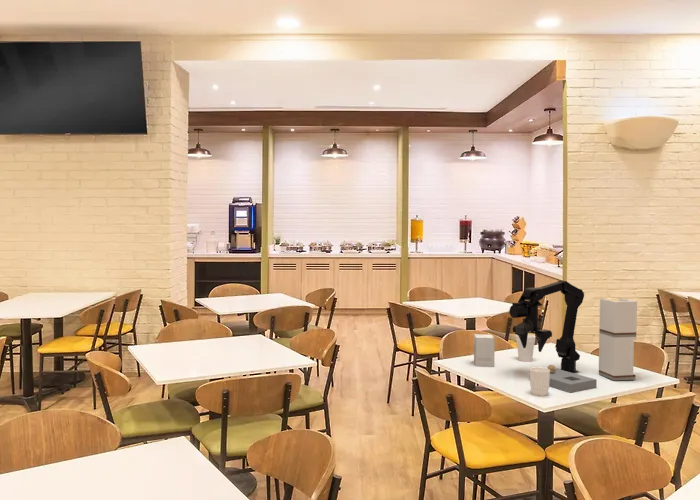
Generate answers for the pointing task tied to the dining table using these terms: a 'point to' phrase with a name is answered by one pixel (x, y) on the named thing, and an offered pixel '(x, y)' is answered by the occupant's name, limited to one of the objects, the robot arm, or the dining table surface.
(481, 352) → the supplement box
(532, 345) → the foam cup
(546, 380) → the white cup
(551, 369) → the ball
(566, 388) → the grey flat block
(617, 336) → the grey striped pillar
